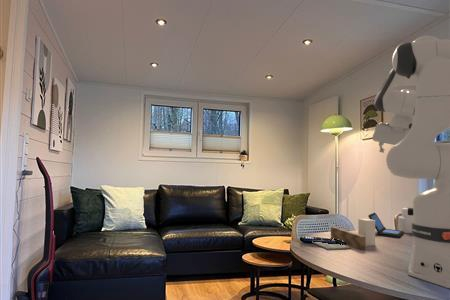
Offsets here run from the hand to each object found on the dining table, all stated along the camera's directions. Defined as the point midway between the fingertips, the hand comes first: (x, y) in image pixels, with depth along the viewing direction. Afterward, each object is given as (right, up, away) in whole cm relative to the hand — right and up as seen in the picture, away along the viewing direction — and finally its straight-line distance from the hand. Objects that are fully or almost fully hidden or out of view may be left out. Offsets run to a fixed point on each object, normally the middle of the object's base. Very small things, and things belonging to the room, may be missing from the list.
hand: (392, 154), depth 143 cm
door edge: (-26, -37, -14) cm, 47 cm away
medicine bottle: (+16, -39, +14) cm, 45 cm away
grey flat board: (-34, -36, -18) cm, 53 cm away
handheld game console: (+2, -39, +9) cm, 40 cm away
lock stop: (-18, -37, -14) cm, 43 cm away
